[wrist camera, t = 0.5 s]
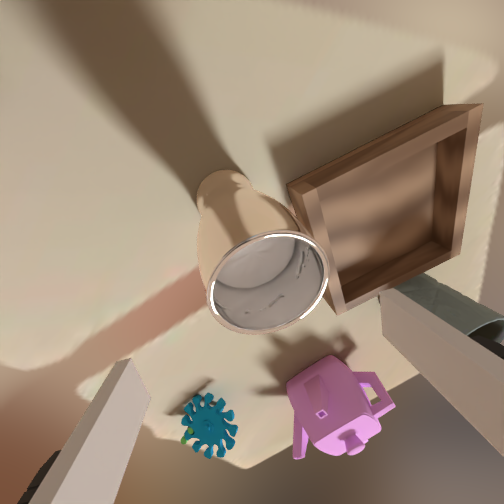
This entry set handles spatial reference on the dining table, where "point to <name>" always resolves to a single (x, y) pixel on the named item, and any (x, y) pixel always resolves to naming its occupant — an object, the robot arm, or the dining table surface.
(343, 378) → the teakettle
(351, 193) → the tray
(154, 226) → the dining table surface
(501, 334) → the grey green cup
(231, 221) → the beer glass
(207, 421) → the teal spiky toy
